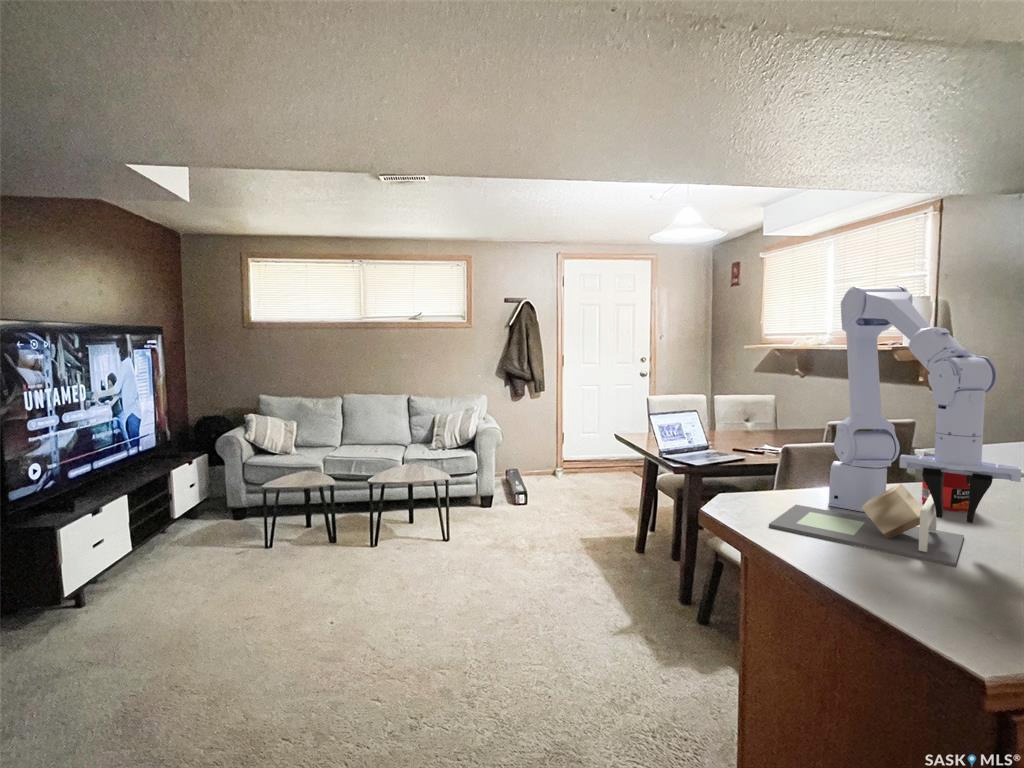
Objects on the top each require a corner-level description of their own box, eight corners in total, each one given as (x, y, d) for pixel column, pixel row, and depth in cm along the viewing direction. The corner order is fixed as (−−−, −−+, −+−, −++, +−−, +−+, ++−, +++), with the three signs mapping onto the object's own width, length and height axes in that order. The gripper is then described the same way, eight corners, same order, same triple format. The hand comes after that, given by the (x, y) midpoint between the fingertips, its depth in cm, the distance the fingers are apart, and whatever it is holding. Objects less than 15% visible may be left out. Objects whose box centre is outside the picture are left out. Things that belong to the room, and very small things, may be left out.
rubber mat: (768, 527, 96) (768, 523, 96) (795, 507, 108) (795, 504, 108) (955, 567, 78) (955, 563, 78) (963, 538, 90) (963, 535, 90)
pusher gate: (918, 550, 82) (920, 510, 82) (928, 529, 92) (930, 493, 91) (926, 552, 82) (928, 512, 81) (936, 530, 91) (938, 494, 91)
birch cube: (887, 539, 88) (861, 507, 90) (893, 530, 92) (868, 500, 95) (923, 522, 84) (895, 490, 87) (928, 514, 89) (901, 483, 91)
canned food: (960, 515, 102) (963, 458, 101) (913, 504, 109) (915, 451, 108) (979, 509, 106) (982, 454, 105) (932, 499, 113) (935, 448, 112)
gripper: (897, 432, 85) (894, 514, 86) (1023, 442, 75) (1017, 536, 76) (904, 427, 90) (901, 505, 91) (1022, 436, 80) (1017, 524, 81)
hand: (954, 518), depth 84 cm, fingers open, 3 cm apart
